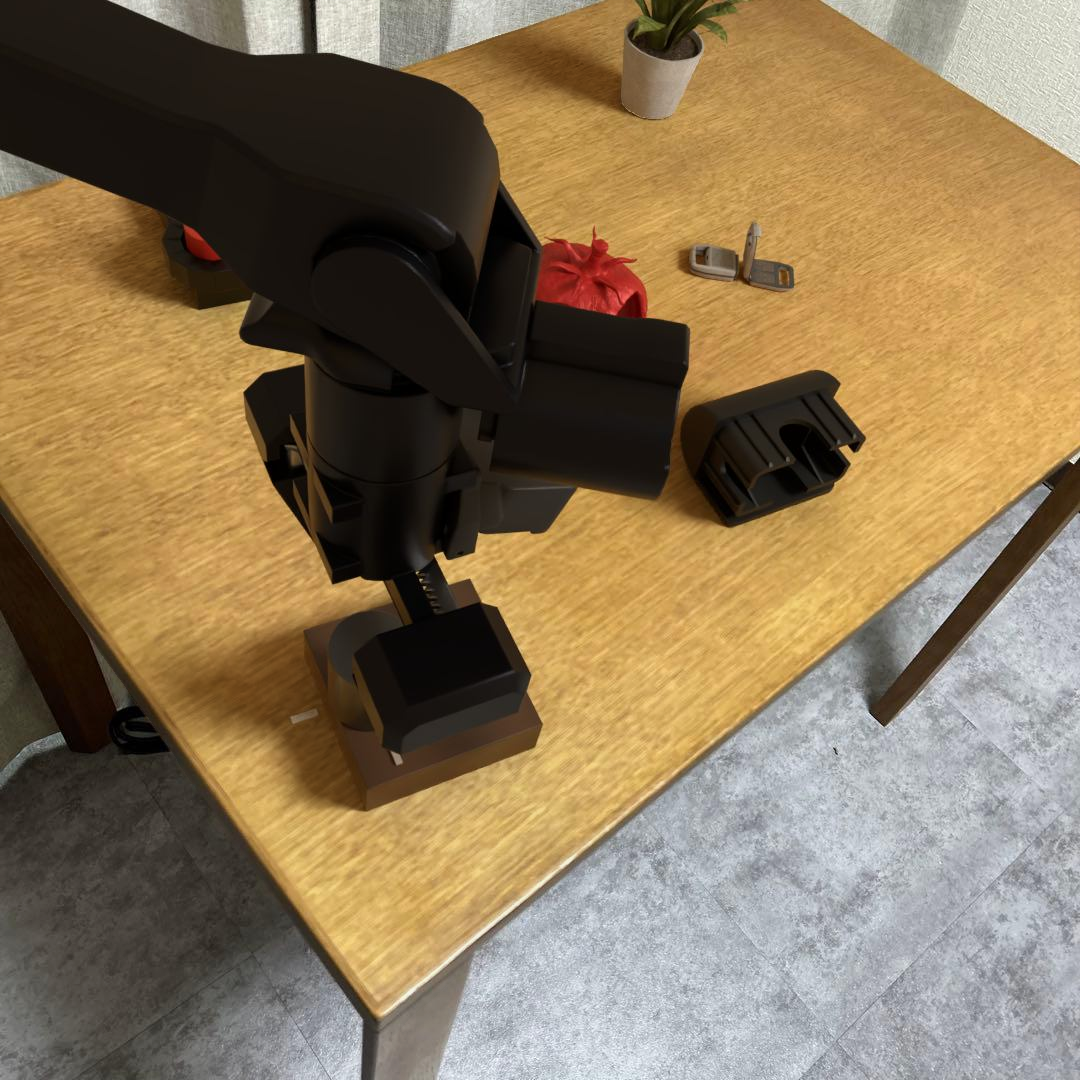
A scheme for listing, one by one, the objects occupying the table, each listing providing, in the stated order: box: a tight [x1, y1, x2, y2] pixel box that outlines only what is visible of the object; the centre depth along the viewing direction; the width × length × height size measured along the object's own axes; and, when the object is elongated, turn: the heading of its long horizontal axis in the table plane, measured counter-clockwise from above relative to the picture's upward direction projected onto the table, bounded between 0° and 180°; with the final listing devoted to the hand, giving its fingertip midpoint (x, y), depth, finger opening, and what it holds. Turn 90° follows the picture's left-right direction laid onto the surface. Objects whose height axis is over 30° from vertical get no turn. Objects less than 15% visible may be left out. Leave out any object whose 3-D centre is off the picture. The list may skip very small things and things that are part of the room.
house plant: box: [620, 0, 755, 119], centre depth 93 cm, size 14×14×16 cm
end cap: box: [679, 369, 867, 528], centre depth 74 cm, size 10×7×7 cm
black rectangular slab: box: [157, 211, 254, 311], centre depth 81 cm, size 19×12×4 cm, turn 115°
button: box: [184, 225, 221, 261], centre depth 75 cm, size 4×4×2 cm
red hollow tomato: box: [535, 225, 649, 318], centre depth 77 cm, size 10×10×9 cm
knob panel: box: [289, 577, 544, 812], centre depth 61 cm, size 12×10×3 cm
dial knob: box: [327, 609, 403, 731], centre depth 57 cm, size 4×4×5 cm
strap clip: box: [688, 221, 796, 292], centre depth 87 cm, size 8×3×4 cm, turn 85°
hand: (371, 634), depth 54 cm, fingers open, 9 cm apart
